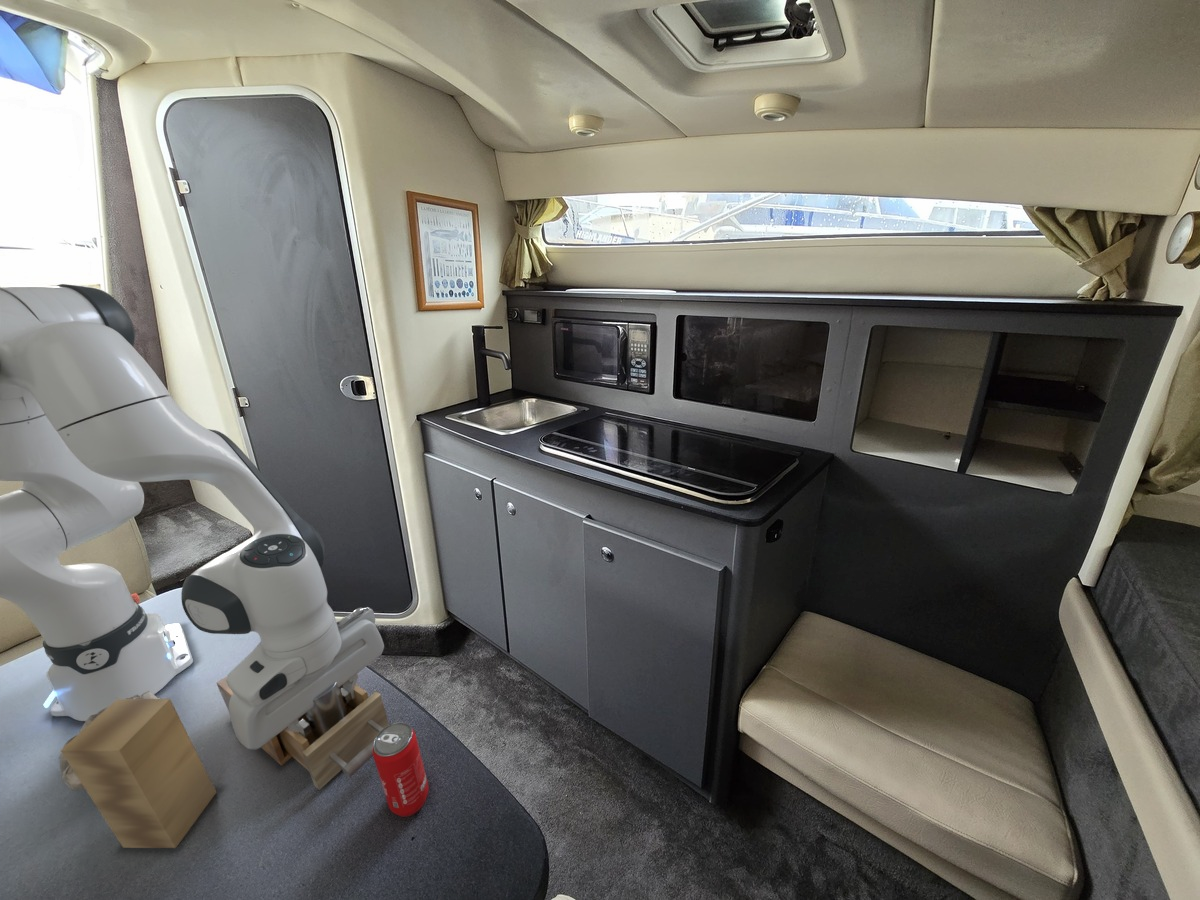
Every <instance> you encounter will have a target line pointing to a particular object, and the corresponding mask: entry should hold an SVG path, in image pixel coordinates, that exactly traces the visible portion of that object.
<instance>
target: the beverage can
mask: <svg viewBox="0 0 1200 900" xmlns="http://www.w3.org/2000/svg"><path fill="white" fill-rule="evenodd" d="M372 758H373V760H374V763H375V766H376V769H377V772H378V776H379V779H380V783H381V786H382V789H383V792H384V796H385V799H386V802H387V806H388V809H389V810H390V811H391V812H392V813H393V814H395V815H397V817H401V818H408V817H410V816H413V815H415V814H417V813H418V812H419V811H420V810H421V809H422V808H423V807H424V805H425V804H426V800H427V796H428V794H429V783H428V779H427V778H428V777H427V774H426V771H425V767H424V762H423V759H422V754H421V751H420V747H419V743H418V739H417V735H416V731H415V730H414V728H412V727H411V725H410V724H408V723H407V722H403V721H400V722H398V721H397V722H394V723H391V724H389V725H388V726H387V727H385V728H384V729H382V730H381V731H380V732H379V733H378V735H377V736H376V738H375V740H374V744H373V756H372Z"/></svg>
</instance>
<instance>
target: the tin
mask: <svg viewBox="0 0 1200 900" xmlns="http://www.w3.org/2000/svg"><path fill="white" fill-rule="evenodd" d="M313 703H314V707H313V708H311V709H310V710H309V711H307V712H306V713H305V715H306V718H307V721H308V723H309V724H310V726H311V729H312V735H313V738H314V740H315V741H316V740H317V739H319V738H320V737H321V736H322V735H324V734H325V733H326V732H327V731H328V730H330V729H331V728H332V727H333V726H334V725H336V724H337V723H338V722H339V721H340V720H342V719H343V718H344V717H345V716H347V715H348V712H347V709H346V705H345V702H344V699H343V696H342V693H341V690H340V687H338V685H337V682H335V683H334V684H333V685H331V686H330V687H329V688H327V689H326V690H325V691H323V692H322V693H321V694H319V695H318V696H317V697H315V698H314V699H313Z"/></svg>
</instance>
